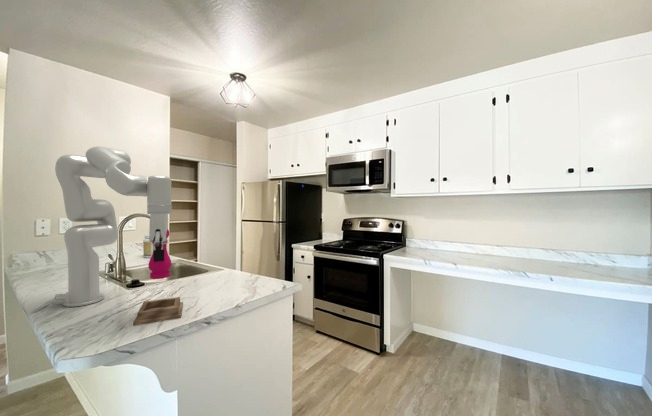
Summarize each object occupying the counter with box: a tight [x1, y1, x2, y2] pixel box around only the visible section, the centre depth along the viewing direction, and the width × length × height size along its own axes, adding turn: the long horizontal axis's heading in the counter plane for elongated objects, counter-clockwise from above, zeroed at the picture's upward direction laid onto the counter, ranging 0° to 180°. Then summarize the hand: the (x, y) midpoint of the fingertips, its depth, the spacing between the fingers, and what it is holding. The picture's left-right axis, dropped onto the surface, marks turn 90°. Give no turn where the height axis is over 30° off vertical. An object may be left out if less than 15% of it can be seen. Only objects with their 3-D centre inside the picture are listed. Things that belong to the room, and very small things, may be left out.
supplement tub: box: [142, 234, 153, 259], centre depth 205 cm, size 12×12×17 cm
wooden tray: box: [132, 296, 184, 326], centre depth 98 cm, size 14×14×4 cm
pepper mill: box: [147, 228, 173, 280], centre depth 98 cm, size 7×7×20 cm
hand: (160, 259), depth 98 cm, fingers closed on pepper mill, 5 cm apart
